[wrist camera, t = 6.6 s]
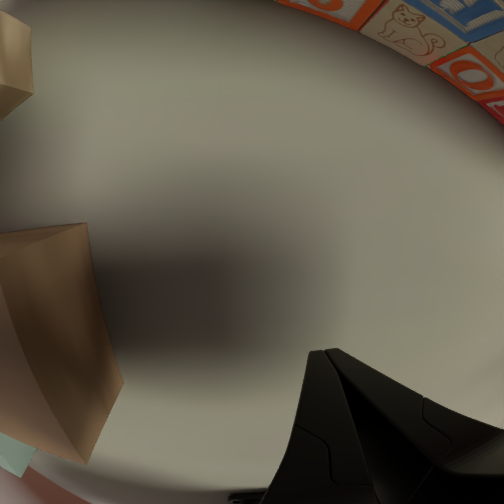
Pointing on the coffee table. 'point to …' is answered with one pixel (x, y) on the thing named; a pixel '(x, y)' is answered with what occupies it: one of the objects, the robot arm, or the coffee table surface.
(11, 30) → the oak cube
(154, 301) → the coffee table surface
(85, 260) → the walnut brick
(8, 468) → the board
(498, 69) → the stack of blocks
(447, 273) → the coffee table surface
